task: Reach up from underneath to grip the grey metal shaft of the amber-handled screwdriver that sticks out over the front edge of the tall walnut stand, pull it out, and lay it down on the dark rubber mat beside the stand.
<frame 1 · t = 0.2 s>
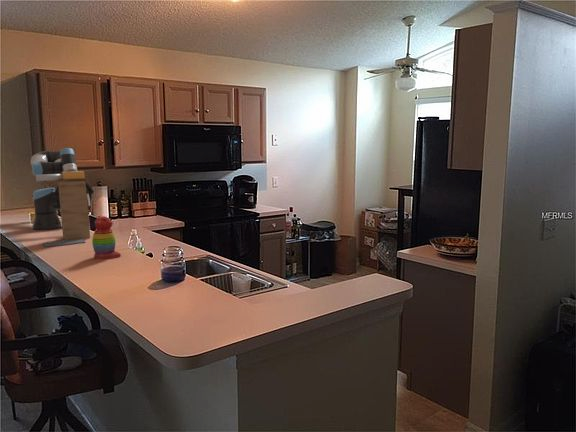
hand: (76, 206, 262), 15 cm above the countertop, tool tilted 35°, fingers open, 13 cm apart
mat: (64, 243, 236), on the countertop
stand: (76, 238, 248), on the countertop
screwdriver: (63, 181, 241), point 30 cm above the countertop, touching stand
stacking bear: (106, 257, 206), on the countertop
soda can: (83, 234, 261), on the countertop
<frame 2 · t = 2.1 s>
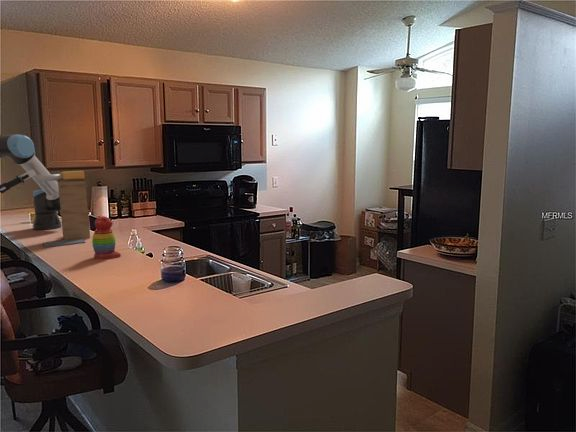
hand: (33, 172, 236), 35 cm above the countertop, tool pointing upward, fingers open, 6 cm apart
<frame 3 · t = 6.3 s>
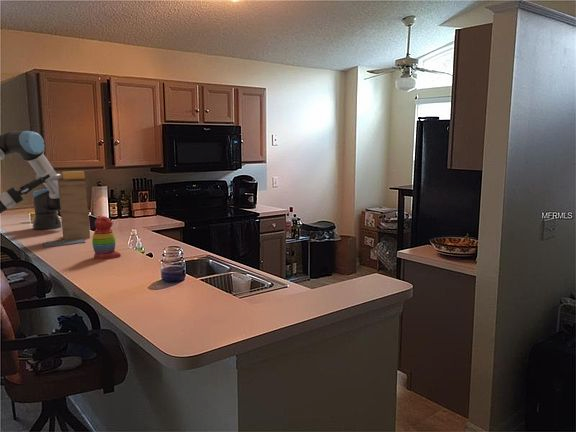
hand: (55, 171, 239), 35 cm above the countertop, tool pointing upward, fingers closed on screwdriver, 3 cm apart
screwdriver: (63, 181, 241), point 30 cm above the countertop, touching gripper, stand
everything else where it was.
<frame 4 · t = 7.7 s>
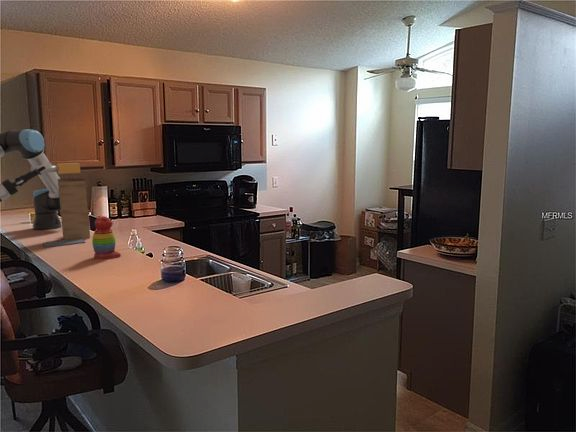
hand: (50, 163, 237), 39 cm above the countertop, tool pointing upward, fingers closed on screwdriver, 3 cm apart
screwdriver: (58, 173, 240), point 34 cm above the countertop, touching gripper
everything else where it was.
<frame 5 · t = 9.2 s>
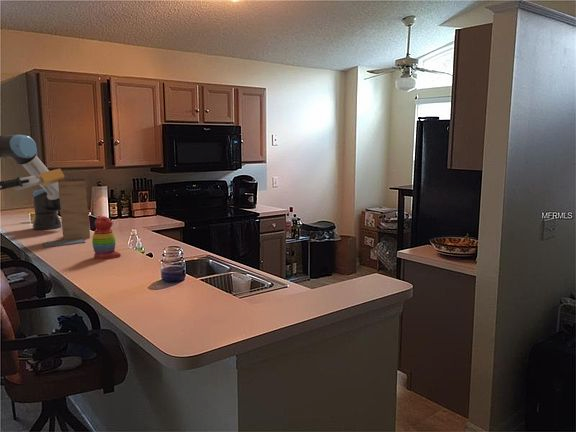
hand: (35, 178, 230), 32 cm above the countertop, tool horizontal, fingers closed on screwdriver, 5 cm apart
screwdriver: (43, 184, 232), point 30 cm above the countertop, tilted 33°, touching gripper
everything else where it was.
when the fingers open (32 cm above the countertop, at t = 9.2 s): screwdriver drops 25 cm and tips over, point 5 cm above the countertop.
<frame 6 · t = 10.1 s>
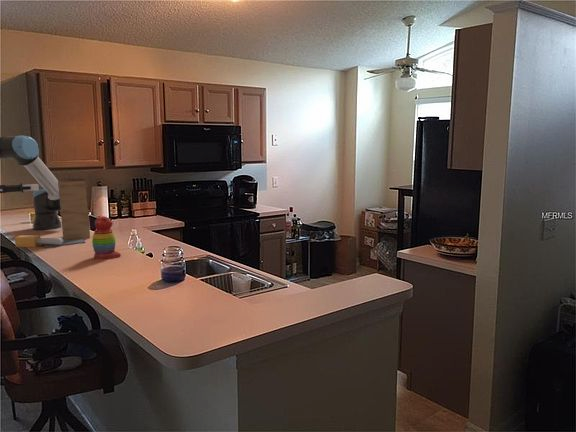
hand: (38, 187, 227), 29 cm above the countertop, tool horizontal, fingers open, 2 cm apart
screwdriver: (37, 236, 230), point 5 cm above the countertop, tilted 180°
everything else where it was.
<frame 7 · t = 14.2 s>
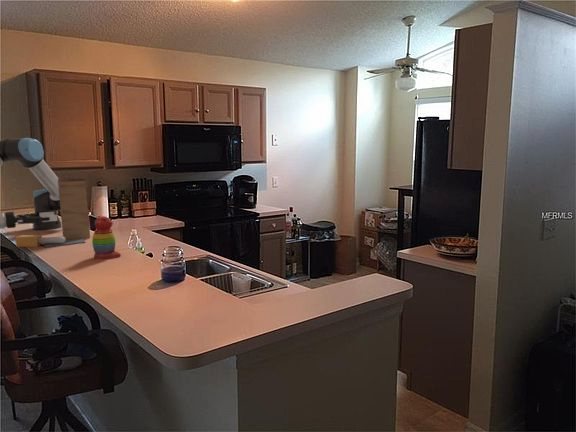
hand: (55, 216, 232), 14 cm above the countertop, tool horizontal, fingers open, 13 cm apart
screwdriver: (38, 235, 232), point 5 cm above the countertop, tilted 180°
everything else where it was.
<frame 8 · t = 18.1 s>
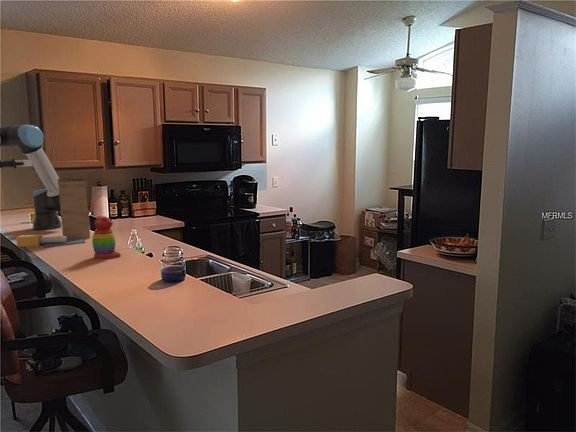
hand: (30, 162, 231), 40 cm above the countertop, tool horizontal, fingers open, 13 cm apart
at the end: screwdriver inside the target area (10.6 cm from its centre), point 4.7 cm above the countertop; screwdriver touching countertop; the gripper is holding nothing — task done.
